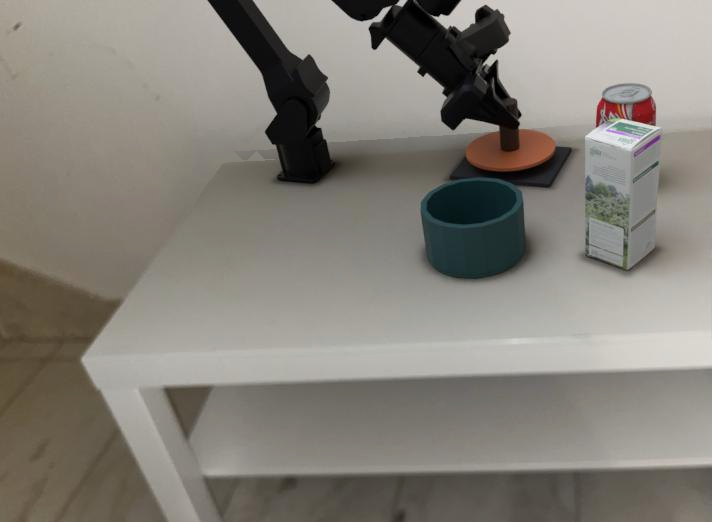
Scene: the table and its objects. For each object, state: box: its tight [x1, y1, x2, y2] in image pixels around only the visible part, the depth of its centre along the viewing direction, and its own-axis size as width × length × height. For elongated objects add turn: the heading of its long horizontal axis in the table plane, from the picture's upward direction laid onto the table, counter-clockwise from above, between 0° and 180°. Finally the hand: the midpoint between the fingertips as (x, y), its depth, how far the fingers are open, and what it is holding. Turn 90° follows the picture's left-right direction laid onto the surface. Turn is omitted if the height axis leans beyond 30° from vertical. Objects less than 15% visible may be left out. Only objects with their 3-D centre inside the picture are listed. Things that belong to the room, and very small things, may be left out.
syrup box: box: [584, 117, 663, 271], centre depth 81 cm, size 6×6×14 cm
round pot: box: [419, 177, 527, 279], centre depth 87 cm, size 11×11×6 cm
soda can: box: [595, 82, 657, 129], centre depth 94 cm, size 7×7×12 cm
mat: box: [449, 145, 572, 188], centre depth 106 cm, size 14×11×1 cm
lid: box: [465, 97, 556, 171], centre depth 103 cm, size 12×12×8 cm
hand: (518, 122), depth 102 cm, fingers closed on lid, 2 cm apart
